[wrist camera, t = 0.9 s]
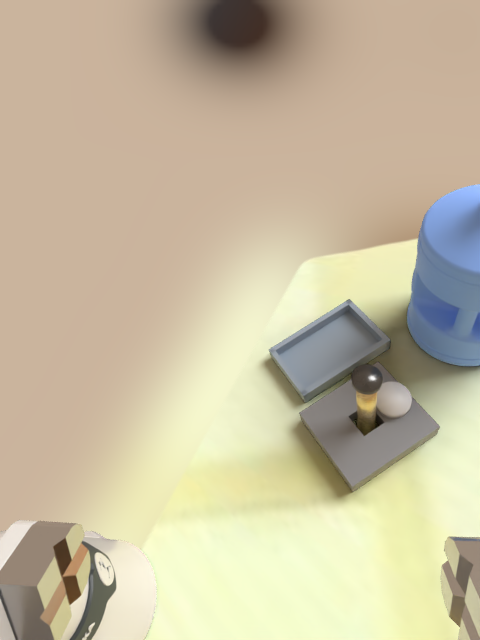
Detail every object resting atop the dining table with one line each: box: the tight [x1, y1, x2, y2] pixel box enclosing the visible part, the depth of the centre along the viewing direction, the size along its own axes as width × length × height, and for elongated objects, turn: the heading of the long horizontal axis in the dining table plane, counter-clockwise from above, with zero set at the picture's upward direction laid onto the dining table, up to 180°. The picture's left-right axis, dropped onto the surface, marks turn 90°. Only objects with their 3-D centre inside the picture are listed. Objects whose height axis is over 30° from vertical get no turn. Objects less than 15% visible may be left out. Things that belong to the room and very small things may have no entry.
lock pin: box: [351, 364, 383, 435], centre depth 54 cm, size 3×3×16 cm
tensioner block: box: [300, 362, 440, 492], centre depth 58 cm, size 14×12×4 cm
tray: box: [269, 299, 391, 403], centre depth 67 cm, size 16×10×2 cm, turn 119°
